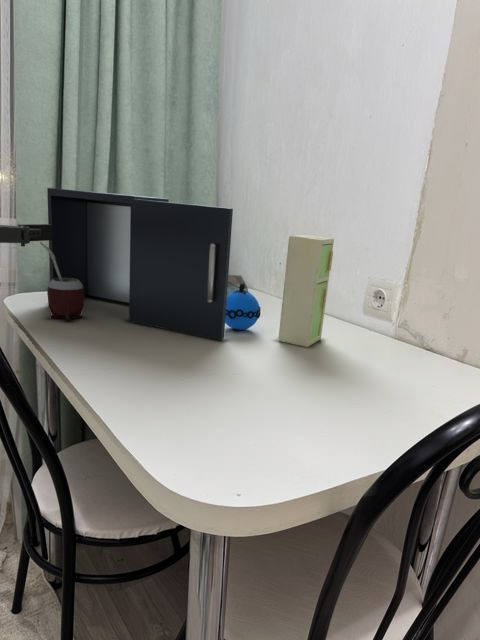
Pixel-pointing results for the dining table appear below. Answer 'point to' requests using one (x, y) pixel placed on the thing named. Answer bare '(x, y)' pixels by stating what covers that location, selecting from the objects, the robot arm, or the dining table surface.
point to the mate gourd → (64, 295)
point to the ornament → (241, 309)
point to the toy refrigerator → (305, 289)
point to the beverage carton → (235, 283)
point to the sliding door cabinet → (145, 256)
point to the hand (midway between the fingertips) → (22, 228)
